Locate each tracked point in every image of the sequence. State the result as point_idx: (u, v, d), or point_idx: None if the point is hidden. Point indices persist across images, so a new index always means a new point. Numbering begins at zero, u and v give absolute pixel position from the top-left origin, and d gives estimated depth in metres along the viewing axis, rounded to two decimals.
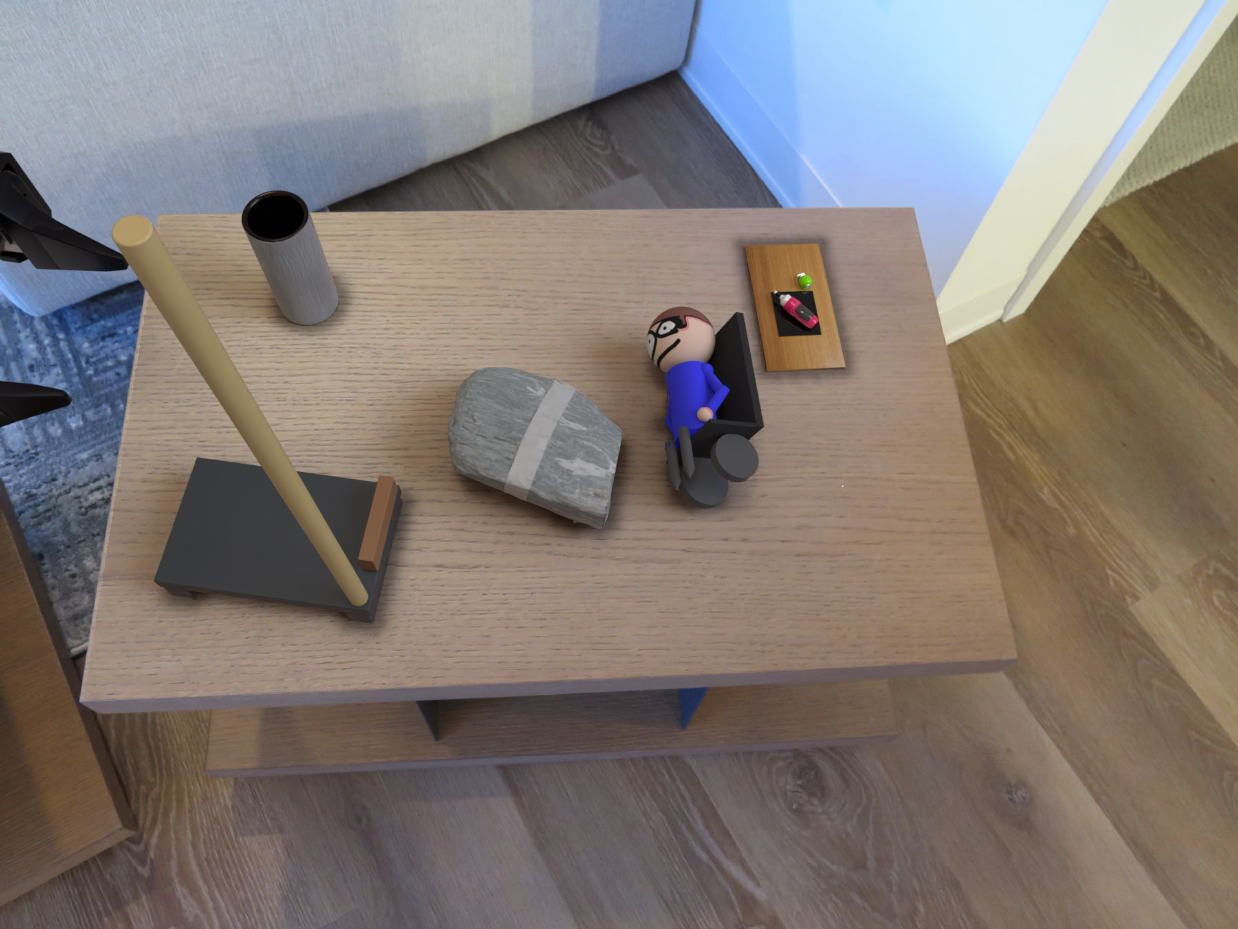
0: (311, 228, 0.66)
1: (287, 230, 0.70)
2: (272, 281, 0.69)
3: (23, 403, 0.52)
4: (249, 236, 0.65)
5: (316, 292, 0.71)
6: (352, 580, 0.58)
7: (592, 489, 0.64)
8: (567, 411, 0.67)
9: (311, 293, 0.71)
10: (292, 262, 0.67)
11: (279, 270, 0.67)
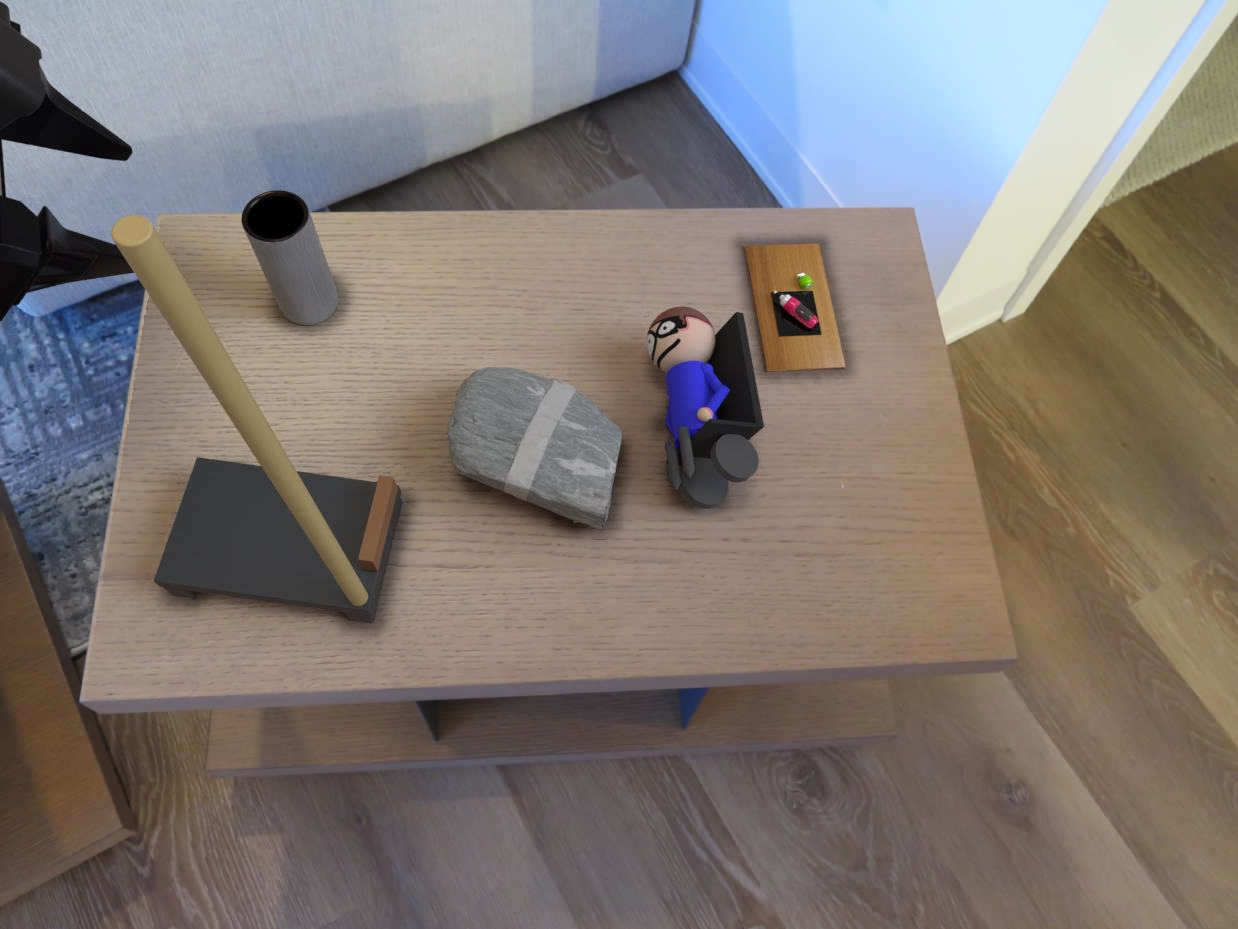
0: (311, 228, 0.66)
1: (287, 230, 0.70)
2: (272, 281, 0.69)
3: (114, 263, 0.57)
4: (249, 236, 0.65)
5: (316, 292, 0.71)
6: (352, 580, 0.58)
7: (592, 489, 0.64)
8: (567, 411, 0.67)
9: (311, 293, 0.71)
10: (292, 262, 0.67)
11: (279, 270, 0.67)
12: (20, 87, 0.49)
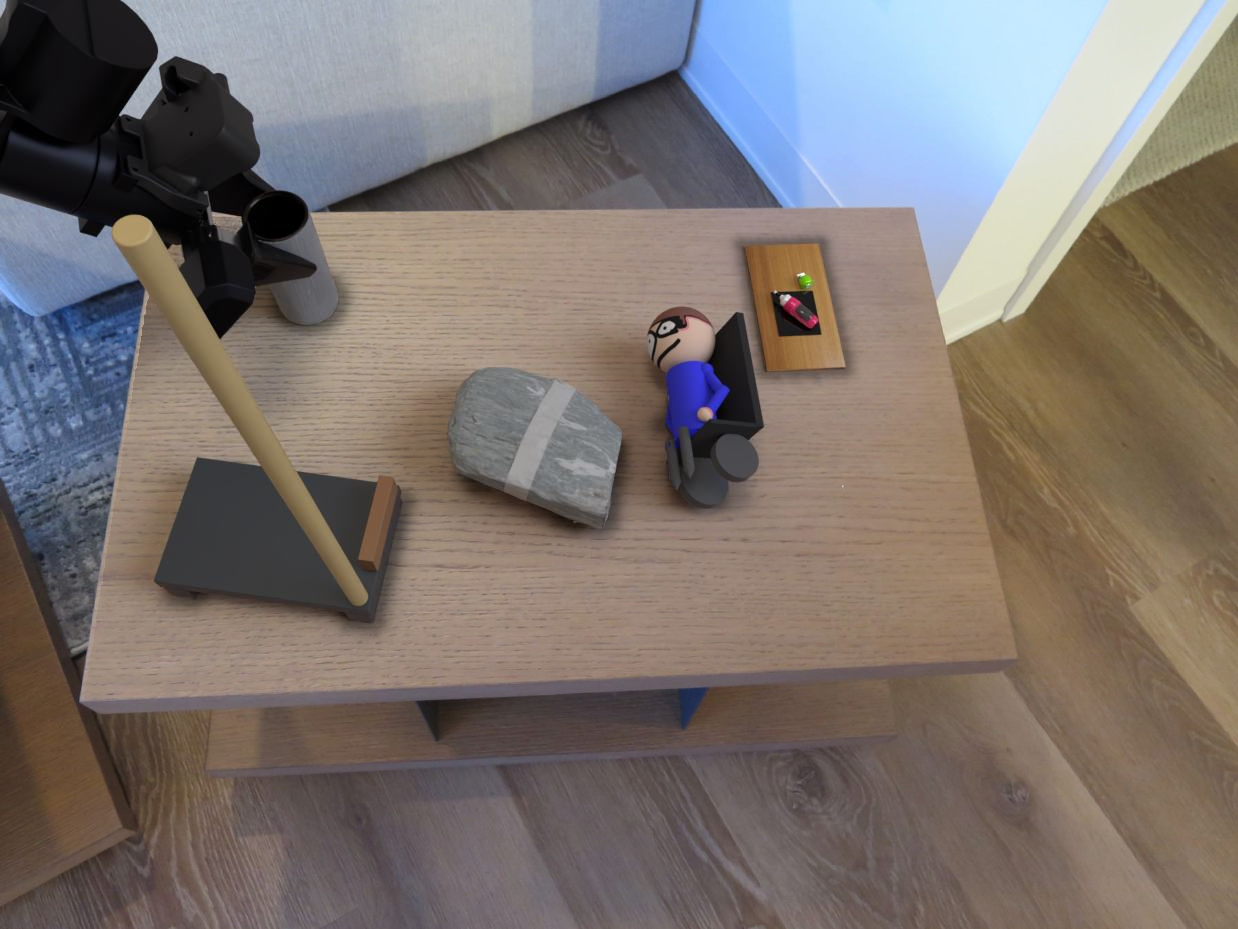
0: (311, 228, 0.66)
1: (287, 230, 0.70)
2: None
3: (291, 270, 0.66)
4: None
5: (316, 292, 0.71)
6: (352, 580, 0.58)
7: (592, 489, 0.64)
8: (567, 411, 0.67)
9: (311, 293, 0.71)
10: None
11: None
12: (243, 149, 0.57)
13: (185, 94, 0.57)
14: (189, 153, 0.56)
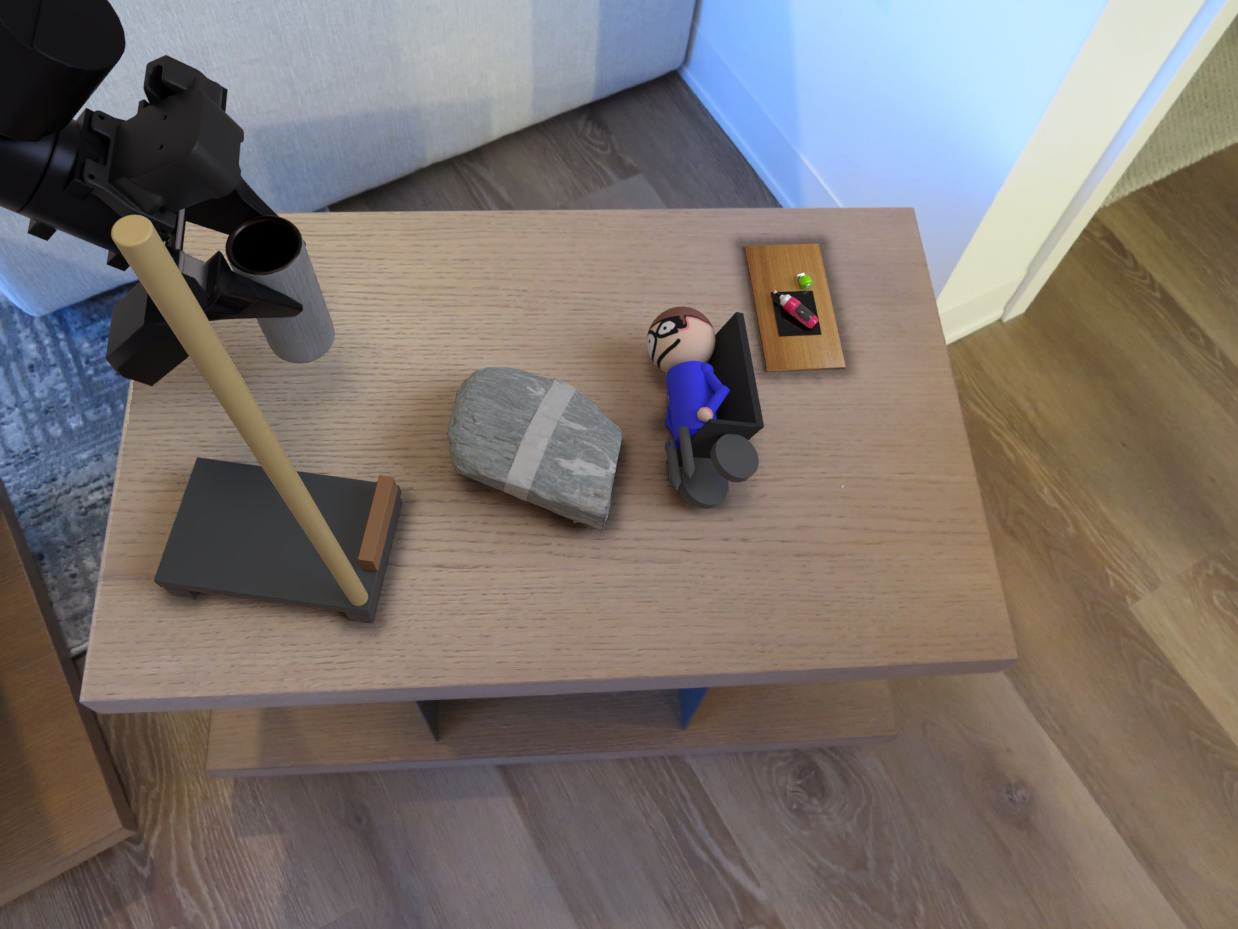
0: (302, 265, 0.58)
1: (284, 259, 0.62)
2: None
3: (271, 308, 0.58)
4: (230, 263, 0.57)
5: (303, 332, 0.63)
6: (352, 580, 0.58)
7: (592, 489, 0.64)
8: (567, 411, 0.67)
9: (297, 332, 0.62)
10: None
11: None
12: (218, 173, 0.49)
13: (168, 100, 0.50)
14: (153, 169, 0.48)
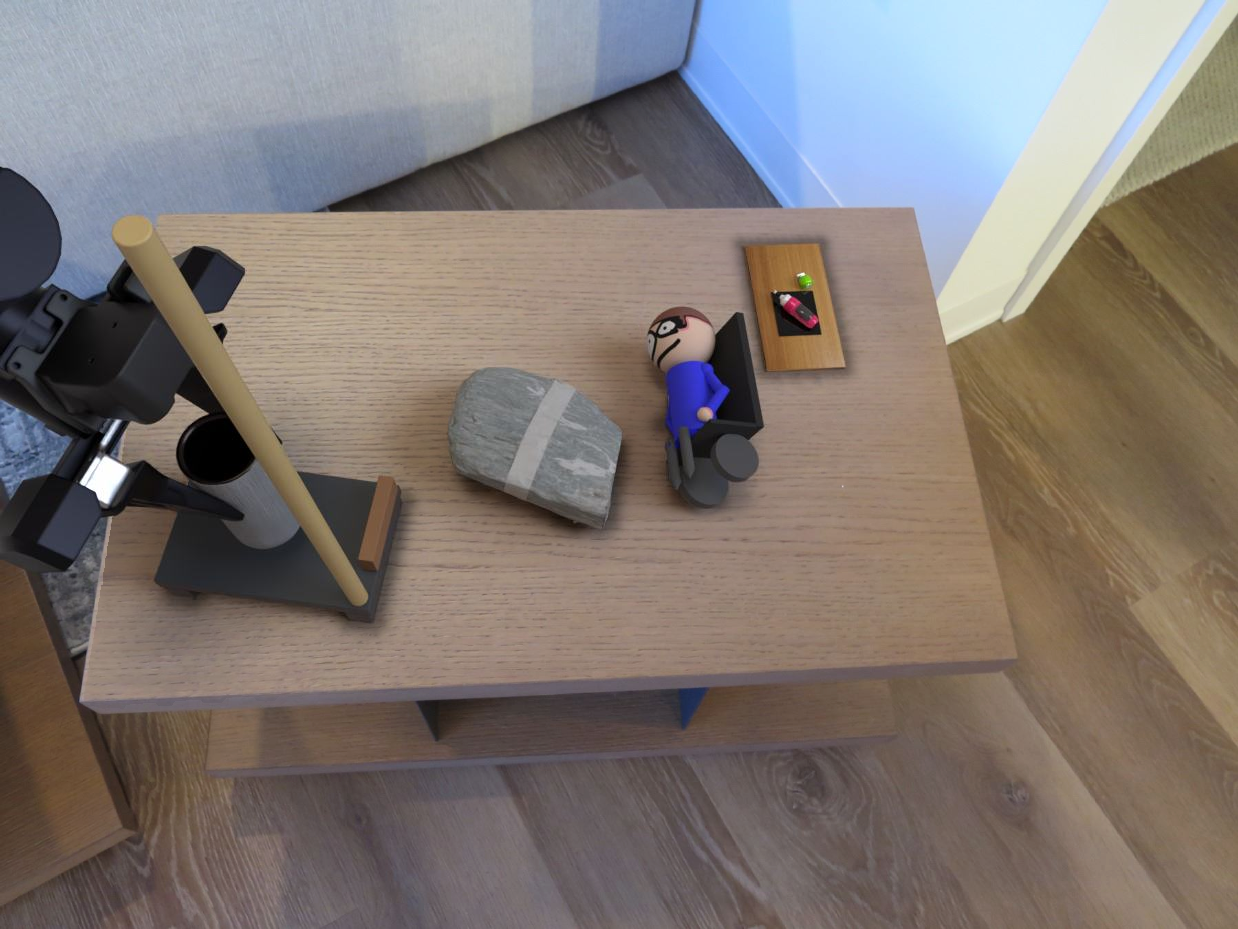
0: (251, 480, 0.52)
1: None
2: None
3: (204, 513, 0.53)
4: None
5: (251, 529, 0.57)
6: (352, 580, 0.58)
7: (592, 489, 0.64)
8: (567, 411, 0.67)
9: (244, 528, 0.57)
10: None
11: None
12: (139, 406, 0.43)
13: (128, 305, 0.45)
14: (72, 383, 0.43)
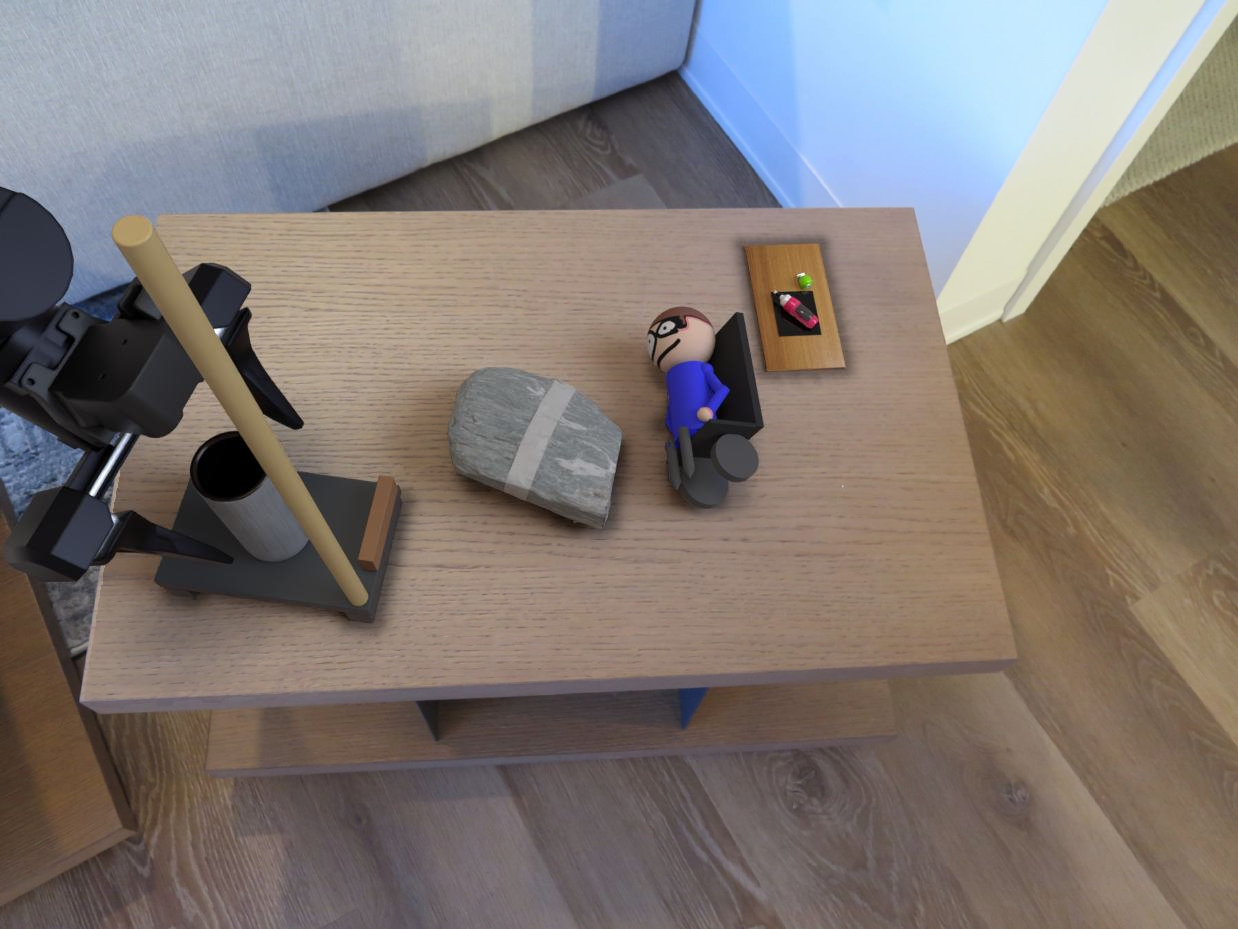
0: (262, 496, 0.55)
1: None
2: None
3: (193, 558, 0.53)
4: None
5: (262, 543, 0.59)
6: (352, 580, 0.58)
7: (592, 489, 0.64)
8: (567, 411, 0.67)
9: (255, 542, 0.59)
10: (228, 517, 0.55)
11: (217, 514, 0.56)
12: (148, 420, 0.45)
13: (138, 323, 0.46)
14: (83, 399, 0.44)
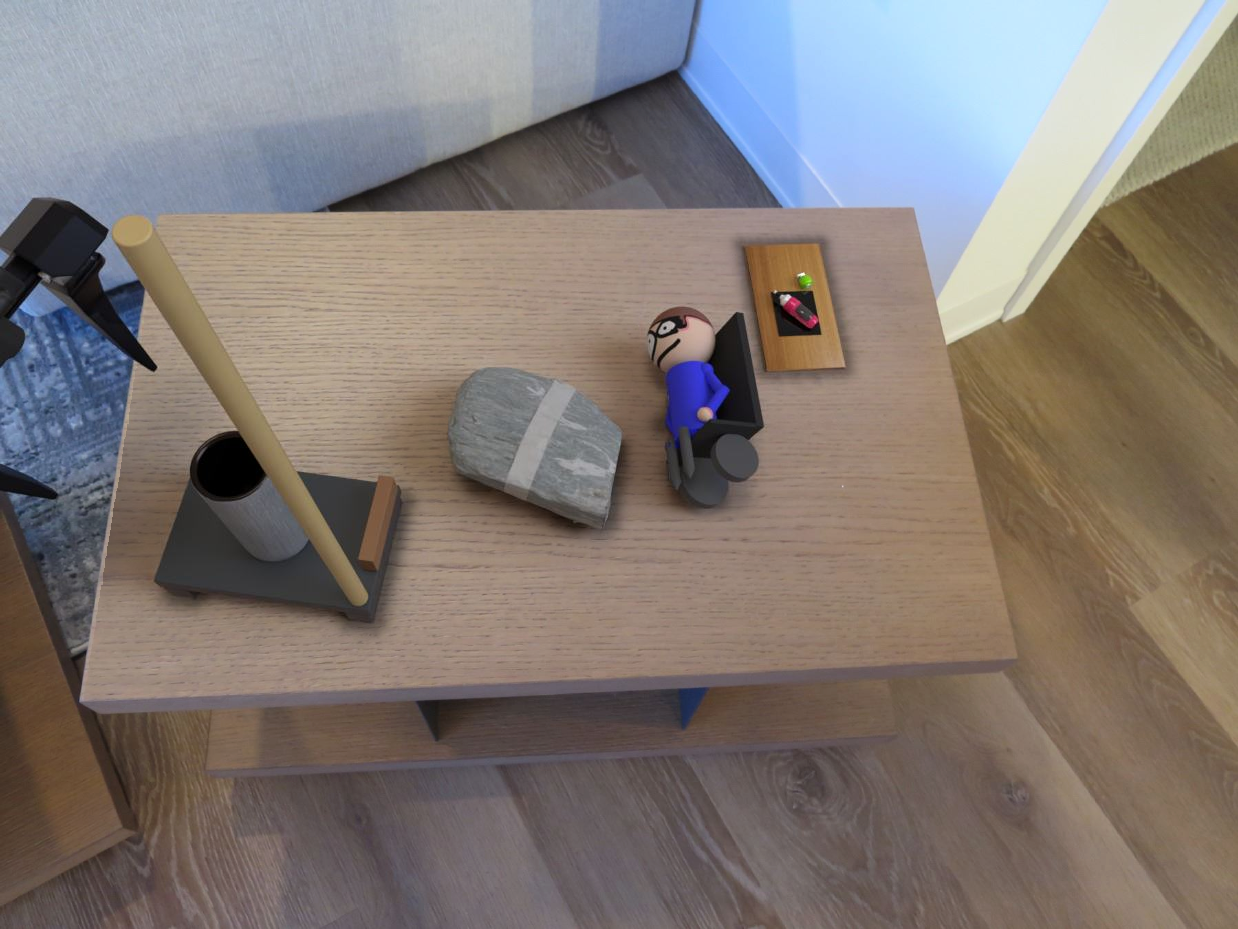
0: (262, 496, 0.55)
1: None
2: None
3: None
4: None
5: (262, 543, 0.59)
6: (352, 580, 0.58)
7: (592, 489, 0.64)
8: (567, 411, 0.67)
9: (255, 542, 0.59)
10: (228, 517, 0.55)
11: (217, 514, 0.56)
12: None
13: None
14: None
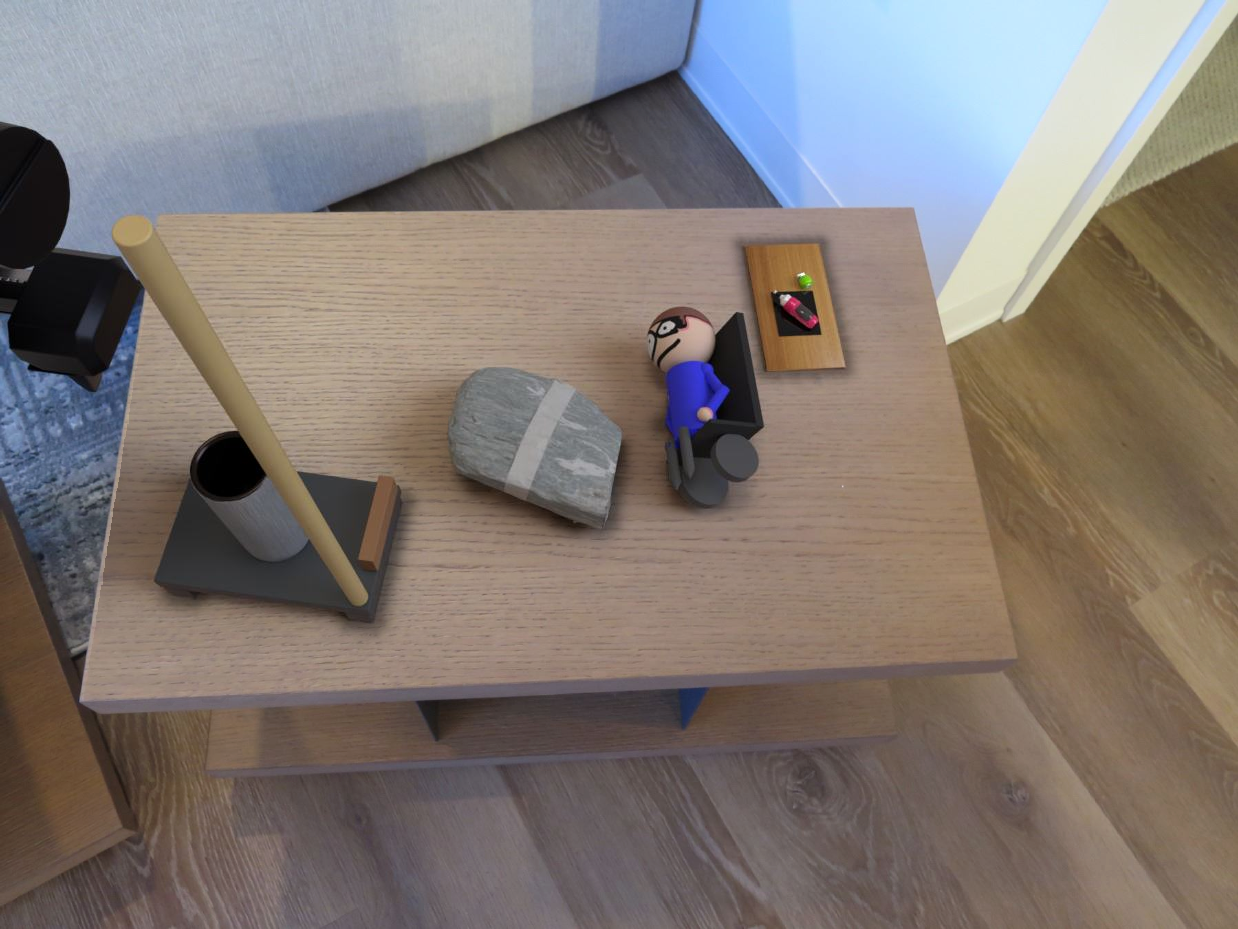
0: (262, 496, 0.55)
1: None
2: None
3: None
4: None
5: (262, 543, 0.59)
6: (352, 580, 0.58)
7: (592, 489, 0.64)
8: (567, 411, 0.67)
9: (255, 542, 0.59)
10: (228, 517, 0.55)
11: (217, 514, 0.56)
12: None
13: None
14: None
